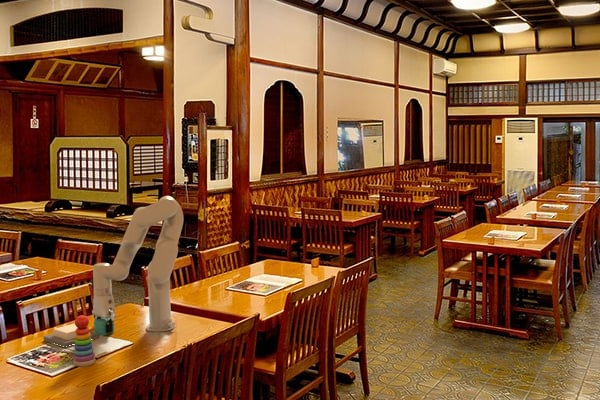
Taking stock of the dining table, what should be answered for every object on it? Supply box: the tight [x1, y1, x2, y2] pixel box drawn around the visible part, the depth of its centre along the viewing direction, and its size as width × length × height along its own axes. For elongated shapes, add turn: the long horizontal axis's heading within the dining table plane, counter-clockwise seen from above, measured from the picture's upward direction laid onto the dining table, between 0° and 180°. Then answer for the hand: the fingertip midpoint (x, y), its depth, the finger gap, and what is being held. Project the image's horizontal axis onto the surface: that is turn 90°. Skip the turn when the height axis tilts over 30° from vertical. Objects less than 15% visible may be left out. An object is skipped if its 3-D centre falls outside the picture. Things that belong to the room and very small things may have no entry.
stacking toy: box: [72, 315, 97, 368], centre depth 232 cm, size 8×8×19 cm
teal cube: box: [93, 318, 115, 337], centre depth 271 cm, size 6×6×6 cm
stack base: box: [43, 322, 100, 347], centre depth 262 cm, size 16×16×5 cm
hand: (104, 330), depth 271 cm, fingers open, 6 cm apart
